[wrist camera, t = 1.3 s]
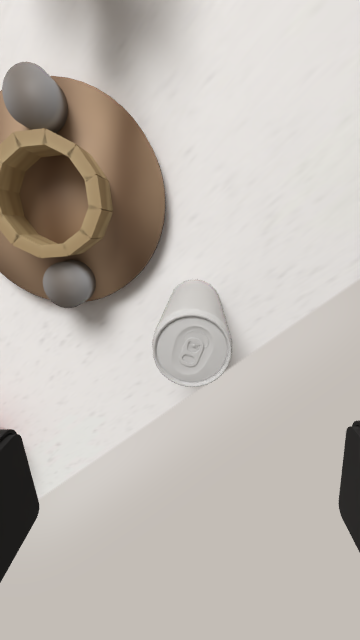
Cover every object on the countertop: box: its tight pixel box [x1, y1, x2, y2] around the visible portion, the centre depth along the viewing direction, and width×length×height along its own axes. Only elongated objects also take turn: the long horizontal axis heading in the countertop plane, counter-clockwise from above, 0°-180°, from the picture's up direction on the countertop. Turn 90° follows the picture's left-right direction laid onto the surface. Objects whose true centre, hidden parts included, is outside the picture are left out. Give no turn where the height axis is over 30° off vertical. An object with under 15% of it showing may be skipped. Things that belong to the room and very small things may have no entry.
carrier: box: [0, 62, 165, 308], centre depth 24 cm, size 18×18×4 cm
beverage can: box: [152, 279, 232, 387], centre depth 22 cm, size 5×5×12 cm
